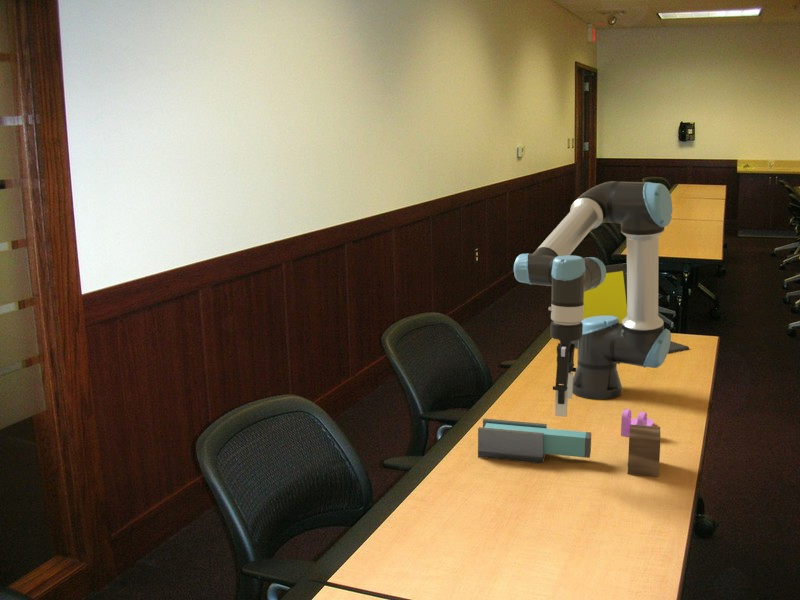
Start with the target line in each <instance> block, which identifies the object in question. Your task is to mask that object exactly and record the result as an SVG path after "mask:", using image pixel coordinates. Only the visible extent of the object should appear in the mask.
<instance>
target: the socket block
mask: <svg viewBox="0 0 800 600" xmlns="http://www.w3.org/2000/svg"><path fill="white" fill-rule="evenodd" d="M660 457H661V427H660V426H643V425H631V424H630V434H629V437H628V455H627V475H636V476H643V477H644V476H645V477H653V478H659V477H660V476H659V475H660Z"/></svg>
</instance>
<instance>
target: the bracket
mask: <svg viewBox="0 0 800 600" xmlns="http://www.w3.org/2000/svg"><path fill="white" fill-rule="evenodd" d="M647 413H648V412H645V411H639V413H638V414H637V415H638V416H637V417H634V418H633V419H632V410H631V409H628V408H624V409H623V411H622V414H621V423H620V424H621V426H620V427H621V428H620V432H621V433H620V437H625V438H629V434H630V424H631V425H643V426H654V425H655V423H654V420H653V419H651V418H649V417H648V414H647Z"/></svg>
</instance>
